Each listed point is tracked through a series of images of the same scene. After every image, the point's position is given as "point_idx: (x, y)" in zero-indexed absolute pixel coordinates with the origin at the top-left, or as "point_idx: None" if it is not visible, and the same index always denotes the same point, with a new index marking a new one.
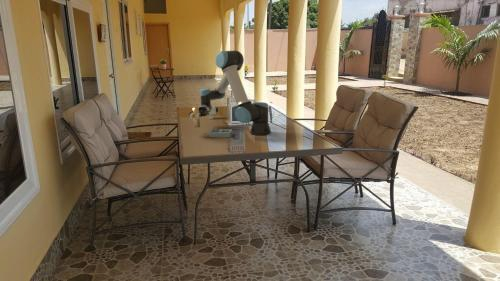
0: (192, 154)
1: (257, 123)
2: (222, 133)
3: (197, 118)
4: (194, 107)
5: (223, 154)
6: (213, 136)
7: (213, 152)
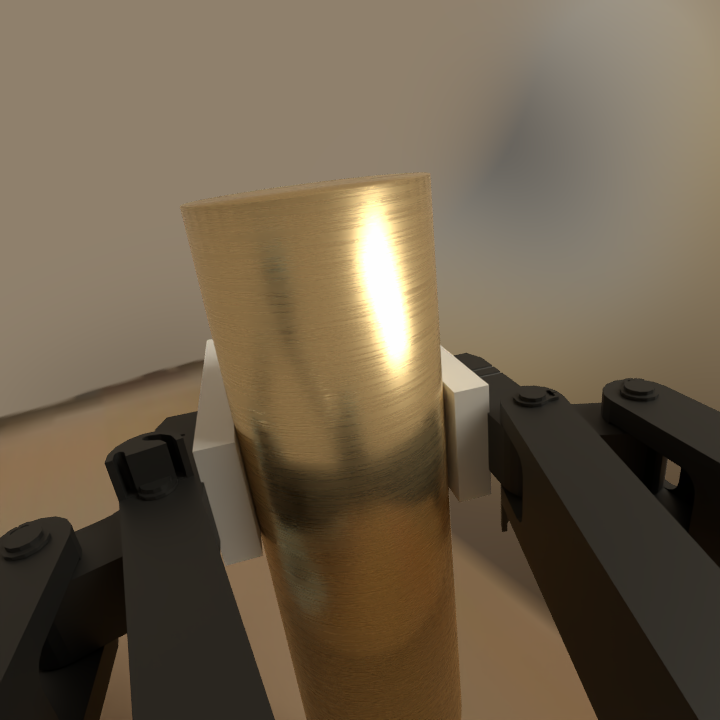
0: (194, 385)
1: None
2: None
3: None
4: (388, 180)
5: (6, 431)
6: None
7: (69, 431)
